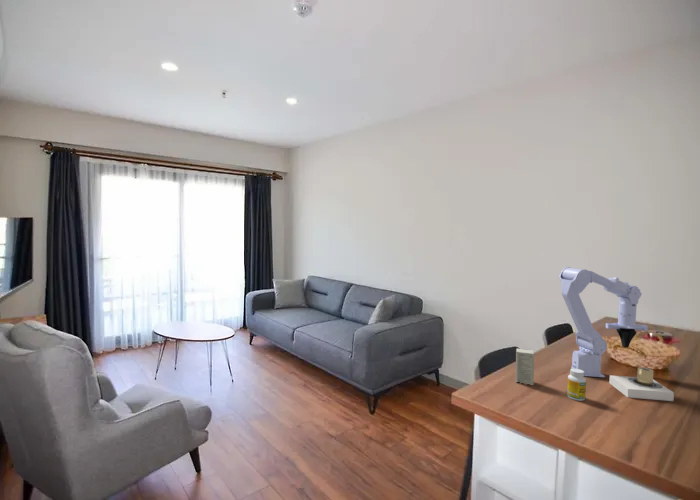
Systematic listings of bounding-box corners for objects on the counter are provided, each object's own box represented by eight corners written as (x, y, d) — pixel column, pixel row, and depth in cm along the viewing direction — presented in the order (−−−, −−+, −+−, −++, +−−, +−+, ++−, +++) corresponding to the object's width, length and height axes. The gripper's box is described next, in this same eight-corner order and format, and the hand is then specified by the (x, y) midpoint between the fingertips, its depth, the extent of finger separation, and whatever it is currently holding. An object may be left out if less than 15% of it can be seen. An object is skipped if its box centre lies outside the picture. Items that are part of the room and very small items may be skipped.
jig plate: (627, 397, 126) (628, 388, 126) (609, 383, 138) (609, 375, 138) (673, 401, 124) (673, 392, 124) (650, 386, 136) (651, 378, 136)
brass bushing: (641, 393, 130) (642, 371, 129) (633, 387, 134) (635, 366, 134) (654, 394, 129) (656, 372, 129) (647, 389, 133) (648, 367, 133)
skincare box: (533, 381, 139) (534, 350, 138) (533, 386, 135) (535, 353, 134) (515, 378, 141) (516, 347, 141) (514, 382, 137) (516, 351, 136)
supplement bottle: (571, 392, 129) (572, 366, 129) (588, 398, 125) (589, 371, 124) (563, 396, 126) (565, 369, 126) (580, 402, 122) (581, 374, 121)
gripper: (612, 315, 146) (610, 348, 147) (653, 317, 143) (651, 351, 144) (603, 311, 153) (601, 343, 154) (642, 313, 150) (640, 345, 151)
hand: (625, 346), depth 149 cm, fingers closed
